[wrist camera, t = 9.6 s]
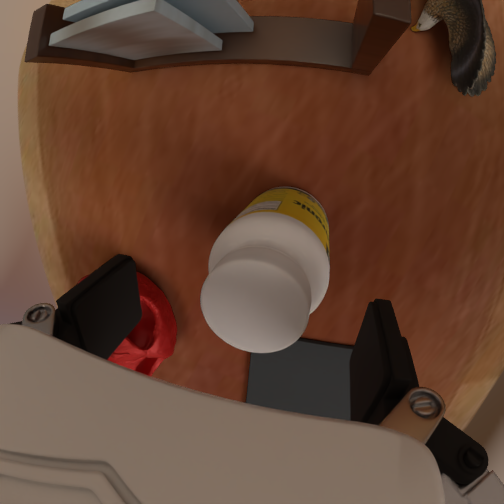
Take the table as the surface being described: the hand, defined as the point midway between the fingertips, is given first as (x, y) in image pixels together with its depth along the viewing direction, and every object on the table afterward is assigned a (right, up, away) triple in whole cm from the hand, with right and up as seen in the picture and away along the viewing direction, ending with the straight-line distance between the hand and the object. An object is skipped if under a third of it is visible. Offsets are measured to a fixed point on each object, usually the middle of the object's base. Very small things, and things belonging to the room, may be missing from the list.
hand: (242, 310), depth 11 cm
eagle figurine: (+12, +16, 0) cm, 20 cm away
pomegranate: (-10, -3, +14) cm, 17 cm away
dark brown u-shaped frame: (0, +15, +4) cm, 16 cm away
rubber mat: (+5, -10, +13) cm, 17 cm away
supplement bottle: (+3, +4, +8) cm, 9 cm away
